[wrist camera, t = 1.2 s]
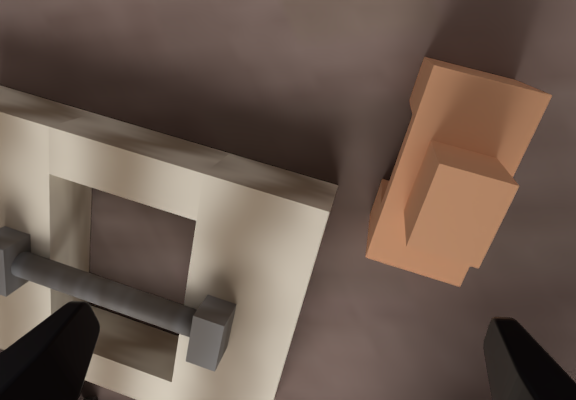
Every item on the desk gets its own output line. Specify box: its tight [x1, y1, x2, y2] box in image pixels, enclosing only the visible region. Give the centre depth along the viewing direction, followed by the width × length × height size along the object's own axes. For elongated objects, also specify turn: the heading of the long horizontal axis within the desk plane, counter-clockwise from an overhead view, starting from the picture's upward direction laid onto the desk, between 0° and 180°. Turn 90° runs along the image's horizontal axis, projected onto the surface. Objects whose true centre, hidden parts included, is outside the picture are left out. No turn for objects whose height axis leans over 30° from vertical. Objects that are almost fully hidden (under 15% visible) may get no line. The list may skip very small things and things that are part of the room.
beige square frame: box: [0, 85, 338, 400], centre depth 24 cm, size 20×16×5 cm
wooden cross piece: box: [366, 57, 552, 287], centre depth 17 cm, size 4×8×8 cm, turn 167°
